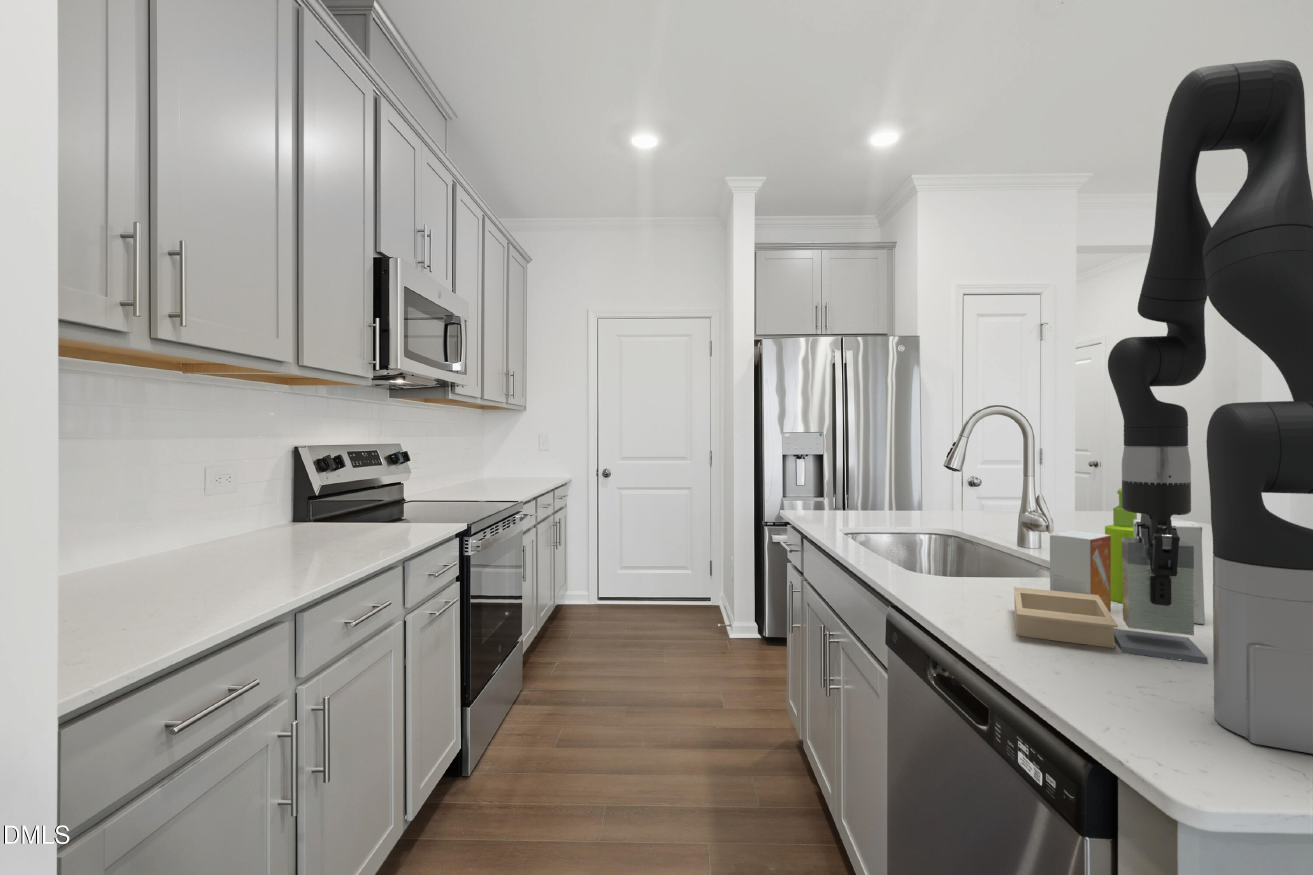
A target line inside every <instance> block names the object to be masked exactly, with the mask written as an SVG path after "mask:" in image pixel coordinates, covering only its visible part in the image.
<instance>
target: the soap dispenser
mask: <svg viewBox="0 0 1313 875" xmlns="http://www.w3.org/2000/svg"><path fill="white" fill-rule="evenodd" d="M1116 492H1117V494H1118V505H1117V506H1114V507H1113V508H1112V511H1113V516H1112V518H1113V520H1112V521H1113V523H1112V524H1110V525H1109V524H1108V525H1104V534H1106V535H1111V602H1114V603H1115V602H1116V603H1118V604H1119V603H1120V604H1123V564H1122V537H1123V538H1134V527H1133V520H1138V513H1133V512H1128V511H1125V510H1124V509H1123V508H1122V488H1118V489H1117V490H1116Z"/></svg>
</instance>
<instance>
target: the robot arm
mask: <svg viewBox="0 0 1313 875" xmlns="http://www.w3.org/2000/svg"><path fill="white" fill-rule="evenodd" d="M1303 81H1304V80H1303V77H1302V74H1301V72H1300V70H1299V68H1298V66H1297V65H1296V64H1295V63H1293V62H1292V61H1290V60H1285V59H1265V60H1264V59H1263V60H1255V61H1246V62H1235V63H1225V64H1217V65H1209V66H1208V65H1207V66H1203V67H1199V68H1196V69H1193V70H1192V71H1190V72H1189V73H1188V74H1186V75H1185V77H1184V78H1183V79H1182V80H1181V81H1180V83H1179V84H1178V85H1177V87H1176V89H1175V91H1174V93H1173V95H1172V97H1171V100H1170V103H1169V105H1168V109H1167V113H1166V117H1165V121H1164V127H1163V133H1162V139H1161V149H1160V150H1161V152H1160V160H1159V170H1158V180H1157V191H1156V204H1155V213H1154V214H1155V218H1154V228H1153V237H1152V242H1151V249H1150V253H1149V258H1148V262H1147V266H1146V270H1145V274H1144V278H1143V282H1142V287H1141V290H1140V293H1139V298H1138V303H1137V313H1138V314H1139V316H1141V317H1142V318H1143V319H1146V320H1149V321H1153V322H1159V323H1165V324H1166V327H1167V333H1166V335H1158V336H1156V335H1154V336H1153V335H1152V336H1131V337H1126V338H1123V339H1121V340H1119V341H1118V342H1117V343H1115V345H1114V346H1113V347H1112V349H1111V351H1110V352H1109V355H1108V359H1107V372H1108V375H1109V378H1110V382H1111V384H1112V387H1113V389H1114V391H1115V395H1116V398H1117V402H1118V404H1119V408H1120V411H1121V415H1122V419H1123V453H1122V458H1121V489H1122V508H1123V509H1124V510H1125V511H1128V512H1133V513H1137V514H1140V520H1141V522H1137V521H1136V524H1135V527H1136V529H1135V531H1136V538H1138V539H1139V540H1142V542H1143V543H1144V557H1145V558H1146V559H1147V560H1148V561H1149V570H1148V574H1149V576H1150V601H1151V603H1152V604H1155V605H1164V606H1169V605H1171V579H1173V576H1175V577H1176V576H1177V573H1178V572H1177V563H1178V549H1179V541H1180V537H1179V535H1178V534H1177V529H1176V528H1172V522H1171V521H1172V517H1173V516H1185V515H1189V514H1190V513H1191V511H1192V466H1191V465H1192V464H1191V458H1190V457H1191V456H1190V451H1189V416H1188V415H1189V414H1188V411H1187V409H1186V408H1185V406H1182V405H1180V404H1177V403H1169V402H1165V401H1161V400H1159V399H1157V398H1156V396H1155V394H1154V392H1153V391H1152V389H1151V387H1153V388H1154V387H1180V386H1185V385H1188V384H1190V383H1191V382H1193V381H1194V380H1196V379H1197V377H1199V375H1200V374H1201V373H1202V371H1203V370H1204V367H1205V365H1206V360H1207V346H1206V336H1205V335H1206V333H1205V331H1206V330H1205V329H1206V328H1205V325H1206V324H1205V322H1206V319H1205V308H1206V302H1207V300H1209V302H1210V303H1211V305H1212V306H1213V308H1214V309H1215V310H1216V311H1217V313H1218V314H1219V315H1220V316H1221V317H1222V318H1223V319H1224V320H1225V321H1226V322H1227V323H1228V324H1229V325H1231V327H1232V328H1234V329H1236V331H1238V333H1240V334H1241V335H1242V336H1243V337H1245V338H1246V339H1247V340H1249V341H1250V342H1251V343H1253V345H1255V346H1256V347H1257V348H1258V349H1260V351H1262V352H1263V353H1264V354H1265V355H1266V356H1267V357H1268V358H1269V359H1270V360H1271V361H1272V363H1274V365H1275V366H1276V368H1278V370H1279V372H1280V373H1281V375H1282V377H1283V379H1284V381H1285V382H1286V385H1287V387H1288V389H1289V391H1290V394H1291V398H1292V400H1283V401H1281V400H1279V401H1252V402H1251V401H1249V402H1243V401H1242V402H1231V403H1225V404H1221V406H1219V407H1217V408H1216V409H1215V411H1213V412H1212V415H1211V416H1210V419H1209V422H1208V426H1207V428H1206V461H1207V472H1208V481H1209V482H1208V483H1209V495H1210V497H1209V498H1210V524H1211V532H1212V533H1211V534H1212V554H1213V555H1212V616H1213V617H1212V623H1213V624H1212V631H1213V632H1212V634H1213V635H1212V636H1213V637H1212V638H1213V642H1212V643H1213V645H1212V646H1213V648H1212V649H1213V650H1212V651H1213V652H1212V654H1213V660H1212V661H1213V703H1214V704H1213V716H1214V720H1216V722H1217V723H1218V724H1220V725H1221V726H1222V727H1223V728H1226V729H1227V730H1229V731H1231V732H1233V733H1236V734H1237V735H1240V736H1242V737H1244V738H1246V739H1247V740H1248V742H1250V743H1252V744H1255V745H1262V746H1266V747H1267V746H1268V747H1272V748H1278V749H1283V750H1289V751H1295V752H1300V753H1301V752H1302V753H1306V754H1307V753H1308V754H1312V755H1313V528H1309V527H1306V526H1302V525H1301V524H1300V525H1299V524H1296V523H1293V522H1291V521H1288V520H1286V519H1285V518H1282V517H1280V516H1278V515H1276V514H1274V513H1273V512H1271V511H1270V510H1269V509H1268V508H1267V507H1266V505H1265V503H1264V498H1263V494H1264V493H1265V494H1267V493H1268V494H1299V495H1301V494H1302V495H1303V494H1305V495H1306V494H1307V495H1313V192H1312V187H1311V186H1312V185H1311V179H1310V175H1309V174H1310V173H1309V163H1308V154H1307V132H1306V131H1307V130H1306V129H1307V127H1306V126H1307V124H1306V99H1305V88H1304V82H1303ZM1227 150H1241V151H1242V152H1244V154H1245V157H1246V161H1247V174H1246V179H1245V181H1244V182H1243V183H1242V186H1241V187H1240V189H1239V191H1238V192H1237V193H1236V195H1235V196H1234V198H1233V199H1232V200H1231V201H1230V202H1229V204H1228V205H1227V207H1225V209H1224V210H1223V211H1222V212H1221V214H1220V215H1219V217H1218V218H1217V220H1216V221H1215V222H1214V224H1213V226H1212V225H1211V223H1210V221H1209V218H1208V217H1207V214H1206V212H1205V210H1204V207H1203V205H1202V203H1201V199H1200V195H1199V192H1198V186H1197V171H1198V170H1197V168H1198V163H1199V158H1200V154H1201V152H1211V151H1213V152H1214V151H1227ZM1262 493H1263V494H1262ZM1149 544H1150V546H1151V548H1152V549H1153V553H1151V552H1150V551H1149ZM1159 560H1165V561H1166V562H1167V567H1164V566H1158V563H1159Z"/></svg>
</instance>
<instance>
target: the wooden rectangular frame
mask: <svg viewBox="0 0 1313 875" xmlns="http://www.w3.org/2000/svg"><path fill="white" fill-rule="evenodd" d="M1013 590H1014V592H1013V593H1014V594H1013V595H1014V596H1013V597H1014V622H1015V631H1016V636H1018V637H1025V638H1027V637H1028V638H1032V639H1033V638H1034V639H1035V638H1036V639H1041V640H1042V639H1043V640H1050V641H1058V642H1064V643H1065V642H1066V643H1071V644H1072V643H1074V644H1081V645H1089V646H1096V647H1102V648H1112V649H1115V640H1114V629H1119V625H1118V624H1117V622H1116V621H1115V619H1114V617H1113V616H1112V614H1111V613H1110V611H1108V609H1107V608H1106V606H1105V605H1104V603H1103V601H1102V600H1101V598H1100V597H1099V595H1092V594H1081V593H1071V592H1061V591H1050V589H1040V588H1038V589H1037V588H1028V587H1020V586H1019V587H1018V586H1013Z"/></svg>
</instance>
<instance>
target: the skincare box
mask: <svg viewBox="0 0 1313 875" xmlns="http://www.w3.org/2000/svg"><path fill="white" fill-rule="evenodd" d="M1136 521H1137V522H1141V519H1137V520H1133V527H1134V538H1136V531H1135V529H1136V527H1135V524H1136ZM1171 522H1172V528H1176V529H1177V534H1178V535H1179V537H1180V541H1185V542H1187V543H1189V544H1190V545H1192V546H1194V569H1193V587H1194V624H1199V625H1204V624H1205V623H1206V622H1205V621H1206V619H1205V617H1206V614H1205V593H1204V592H1205V591H1204V589H1205V588H1204V587H1205V586H1204V565H1203V559H1204V558H1203V527H1202V526H1201V525H1200V524H1197V522H1194V521H1187V520H1183V521H1181V520H1171Z"/></svg>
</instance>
